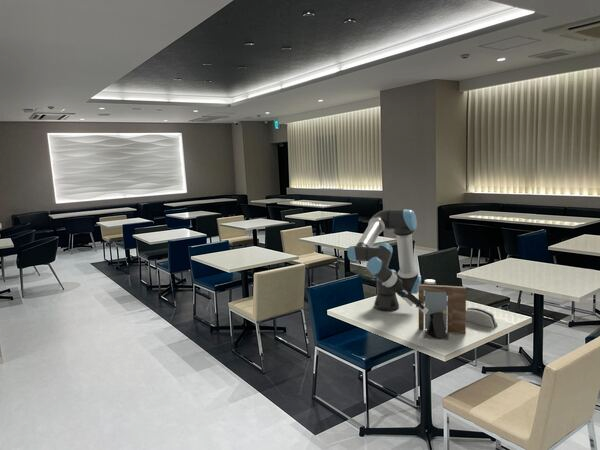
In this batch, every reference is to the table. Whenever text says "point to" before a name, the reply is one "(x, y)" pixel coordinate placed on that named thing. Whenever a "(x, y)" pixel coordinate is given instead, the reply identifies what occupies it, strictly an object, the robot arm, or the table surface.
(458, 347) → the table surface
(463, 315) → the door frame
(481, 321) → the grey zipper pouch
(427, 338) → the mat
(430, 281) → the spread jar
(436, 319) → the phone stand
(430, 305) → the door
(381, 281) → the robot arm
